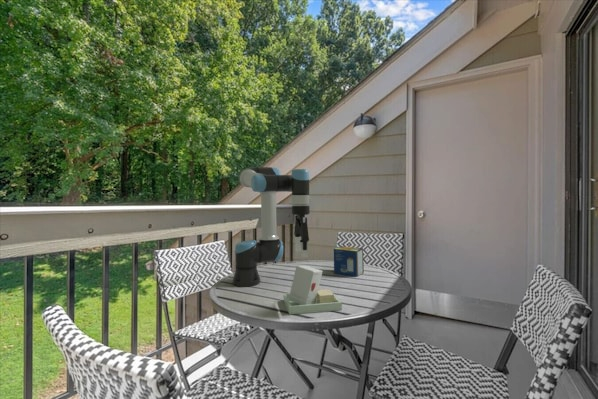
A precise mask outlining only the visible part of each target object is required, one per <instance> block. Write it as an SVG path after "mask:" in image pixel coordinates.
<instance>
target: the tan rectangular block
mask: <svg viewBox="0 0 598 399" xmlns="http://www.w3.org/2000/svg"><path fill="white" fill-rule="evenodd" d="M334 295H335V293H334V292H332V291H331V290H330V289H326V288H325V289H318V293H317V298H316V302H317V303H318V304H320V303H332V302H334Z"/></svg>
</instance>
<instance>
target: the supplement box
mask: <svg viewBox="0 0 598 399" xmlns="http://www.w3.org/2000/svg"><path fill="white" fill-rule="evenodd" d="M295 267H296V268H295V270H294V274H293V279H292V283H291V288H290V292H289V293H290V295H289V299H288V300H291V301H293V302H295V303H298V304H300V305H308V304H315V302H316V298H317V293H318V290H320V289H319V288H320V283H321V279H322V276H323V270H321V269H318V268H315V267H312V266H308V265H297V266H295Z"/></svg>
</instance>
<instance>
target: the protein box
mask: <svg viewBox="0 0 598 399" xmlns="http://www.w3.org/2000/svg"><path fill="white" fill-rule="evenodd" d="M364 270H365V269H364V248H362V247H353V246H343V245H342V246H338V247H334V248H333V274H335V275H341V276H347V277H352V278H354V277H355V278H357V277H359V276H361V275H363V274H364Z"/></svg>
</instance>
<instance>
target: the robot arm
mask: <svg viewBox="0 0 598 399" xmlns="http://www.w3.org/2000/svg"><path fill="white" fill-rule="evenodd" d="M310 180H311V179H310V170H308V168H307V169H306V168H296V169H295V168H293V169H292V170H291V174H281V171H280V170H279V168H277V167H271V166H268V167H267V166H266V167H265V166H264V167H262V166H261V167H259V166H257V167H256V166H250V167H246V168H244V169H242V170H241V171H240V172H239V175H238V182H239V183H240V185H242V186H243V187H245V188H250V189H251V190H252V191H253V192H257V193H259V194H260V206H261V208H260V212H261V213H260V214H261V218H260V219H261V236H260V237H259V238H258V241H257V240H255V239H247V240H243V241H239V242H237V243H236V244H235V246H234V247H235V249H234V253H235V254H234V255H235V259H234V260H235V271H234V273H233V278H232V285H233V286H235V287H240V286H243V287H253V286H256V285H259V284H260V283H261V277H260V274H259V272H258V264H263V263H274V262H278V261H280V260H281V259H282V257H283V255H284V243H283V241H282V240H280V237H279V236H278V235H277V234H278V232H277V229H278V228H277V193H279V192H281V193H282V192H288V193H289V192H291V205H292V206H291V210H292V211H291V214H292V215H294V218H295V219H294V220H295V221H294V233H293V234H294V238H295V240H294V246H295V248H294V250H295V253H298V252H300V258H301V259H305V258H306V259H308V258H309V245H308V244H309V243H308V242H309V241H310V238H309V229H308V217H305V216H306V215H310V206H309V205H310V200H311V196H310ZM243 287H242V288H243Z"/></svg>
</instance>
